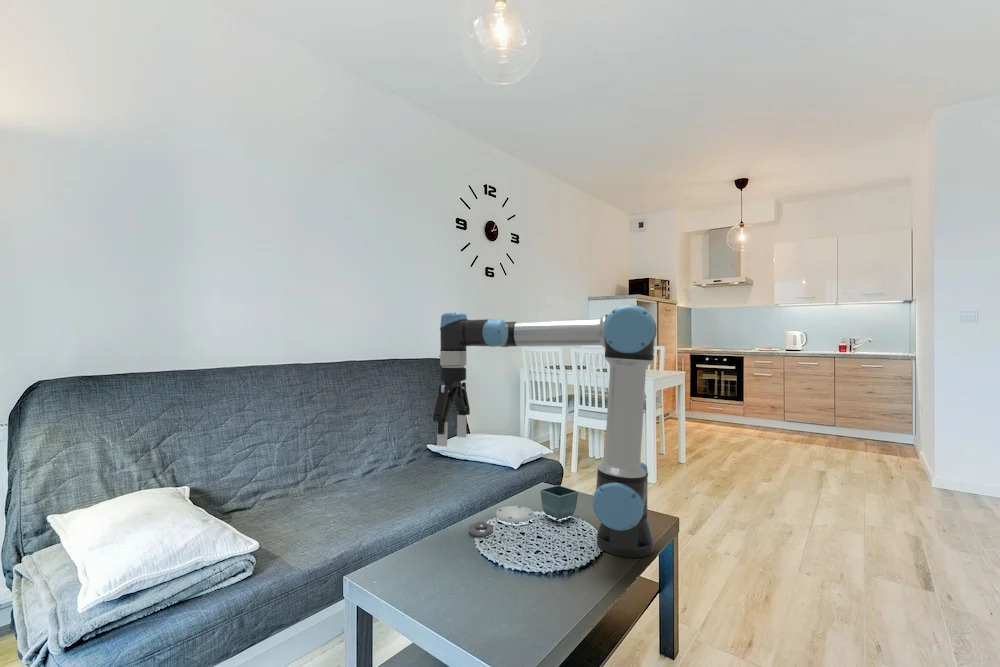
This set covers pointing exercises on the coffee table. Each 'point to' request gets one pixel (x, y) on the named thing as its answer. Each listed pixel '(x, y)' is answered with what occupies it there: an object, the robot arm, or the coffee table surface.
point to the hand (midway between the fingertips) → (452, 441)
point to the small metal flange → (480, 529)
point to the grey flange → (514, 514)
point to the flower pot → (559, 501)
